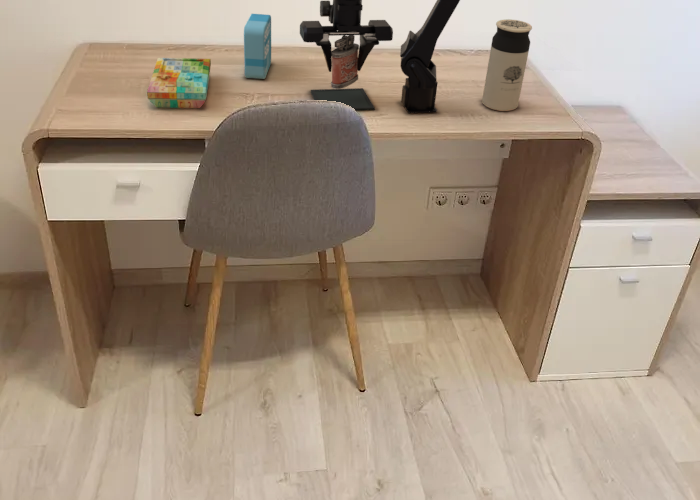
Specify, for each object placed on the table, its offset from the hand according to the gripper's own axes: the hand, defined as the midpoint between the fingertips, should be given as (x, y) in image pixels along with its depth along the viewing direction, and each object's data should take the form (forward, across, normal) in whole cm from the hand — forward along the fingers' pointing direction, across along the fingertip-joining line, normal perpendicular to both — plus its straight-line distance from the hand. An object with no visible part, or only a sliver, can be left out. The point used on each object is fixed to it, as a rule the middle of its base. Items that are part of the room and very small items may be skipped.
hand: (344, 70), depth 159 cm
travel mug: (+7, -35, +5) cm, 36 cm away
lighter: (+3, 0, 0) cm, 3 cm away
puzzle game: (+7, +34, -8) cm, 36 cm away
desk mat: (+7, 0, 0) cm, 7 cm away
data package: (+7, +16, -19) cm, 26 cm away
